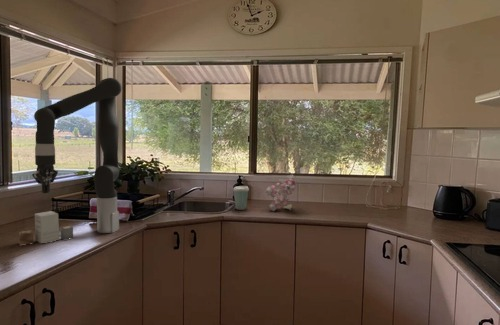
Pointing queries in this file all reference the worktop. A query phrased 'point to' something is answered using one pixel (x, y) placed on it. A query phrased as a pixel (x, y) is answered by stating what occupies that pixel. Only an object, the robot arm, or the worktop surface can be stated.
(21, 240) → the walnut marked block
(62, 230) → the slate marked cylinder
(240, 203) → the disposable coffee cup
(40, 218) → the supplement box
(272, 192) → the flower
